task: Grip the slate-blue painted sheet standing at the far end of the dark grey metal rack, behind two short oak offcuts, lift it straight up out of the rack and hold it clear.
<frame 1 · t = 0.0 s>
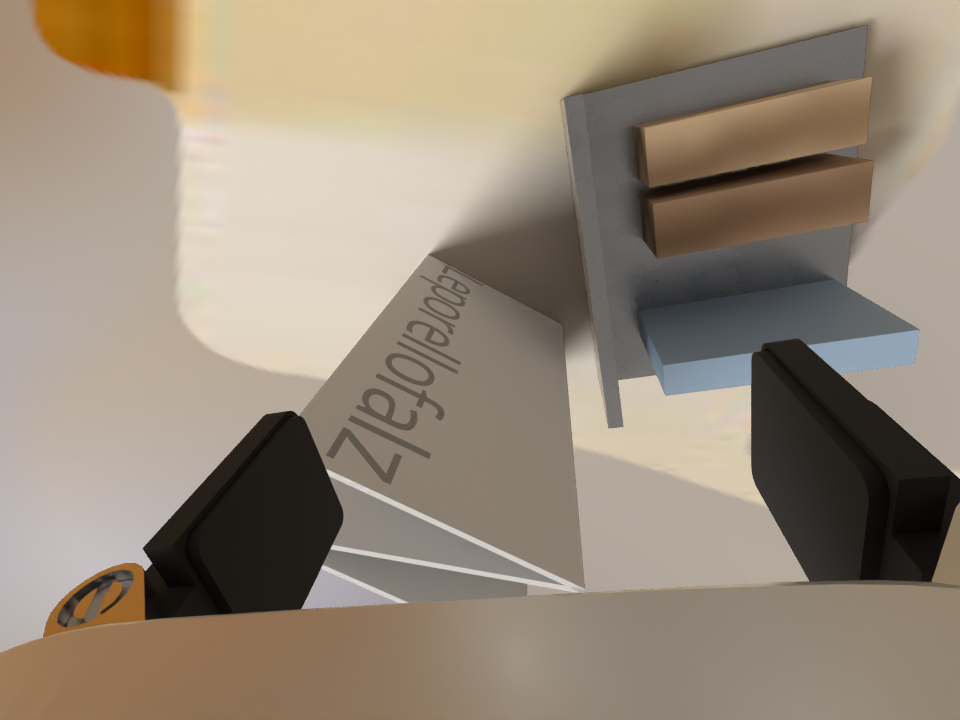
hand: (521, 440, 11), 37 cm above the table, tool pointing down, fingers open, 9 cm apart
offcut short: (729, 132, 39), point 1 cm above the table, touching rack
offcut tall: (731, 199, 41), point 1 cm above the table, touching rack
sheet: (732, 309, 45), point 1 cm above the table, touching rack
rack: (715, 229, 43), on the table
brochure: (483, 313, 49), on the table
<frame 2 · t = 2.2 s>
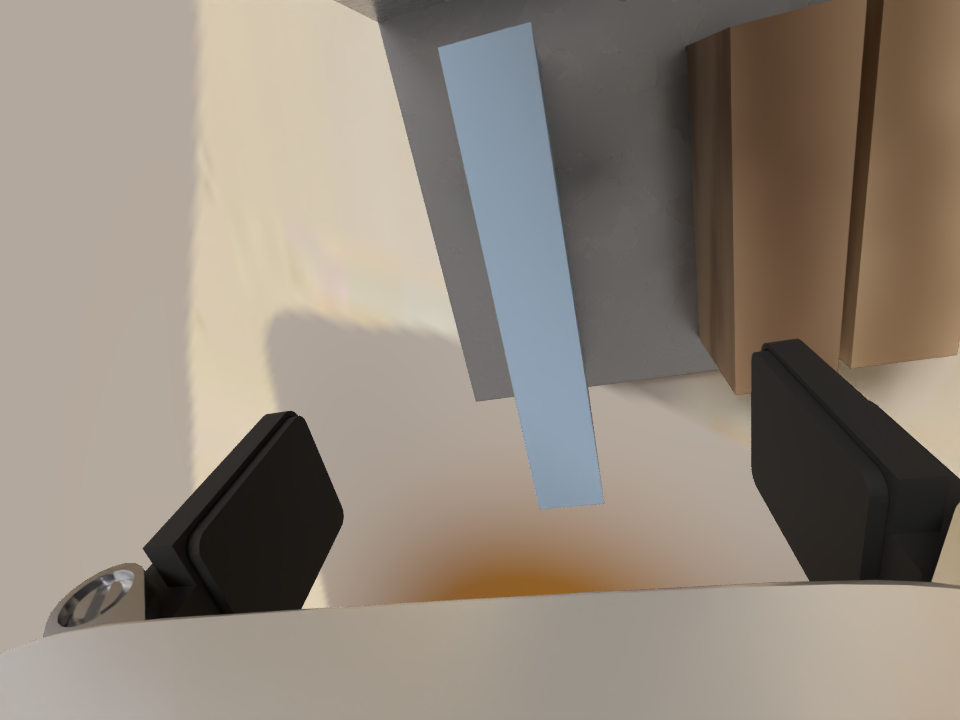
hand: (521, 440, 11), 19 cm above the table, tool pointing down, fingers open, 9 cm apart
offcut short: (854, 178, 24), point 1 cm above the table, touching rack
offcut tall: (737, 201, 25), point 1 cm above the table, touching rack
sheet: (540, 239, 26), point 1 cm above the table, touching rack
rack: (677, 187, 26), on the table
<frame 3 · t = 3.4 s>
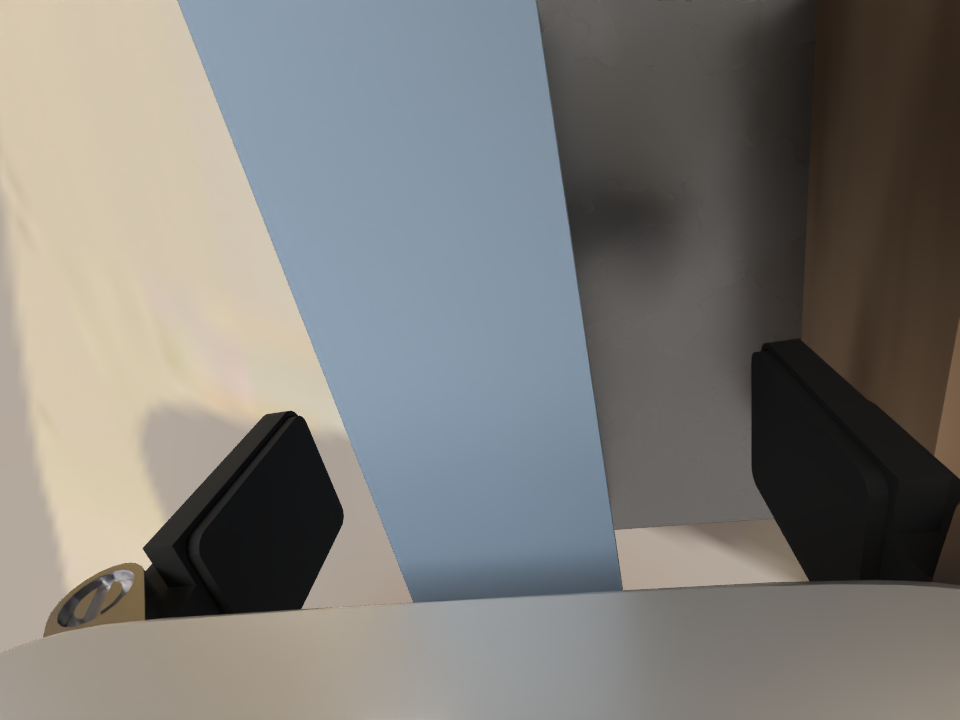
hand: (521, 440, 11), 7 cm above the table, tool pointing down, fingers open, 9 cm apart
offcut tall: (883, 264, 14), point 1 cm above the table, touching rack
sheet: (542, 318, 16), point 1 cm above the table, touching rack
rack: (772, 237, 15), on the table
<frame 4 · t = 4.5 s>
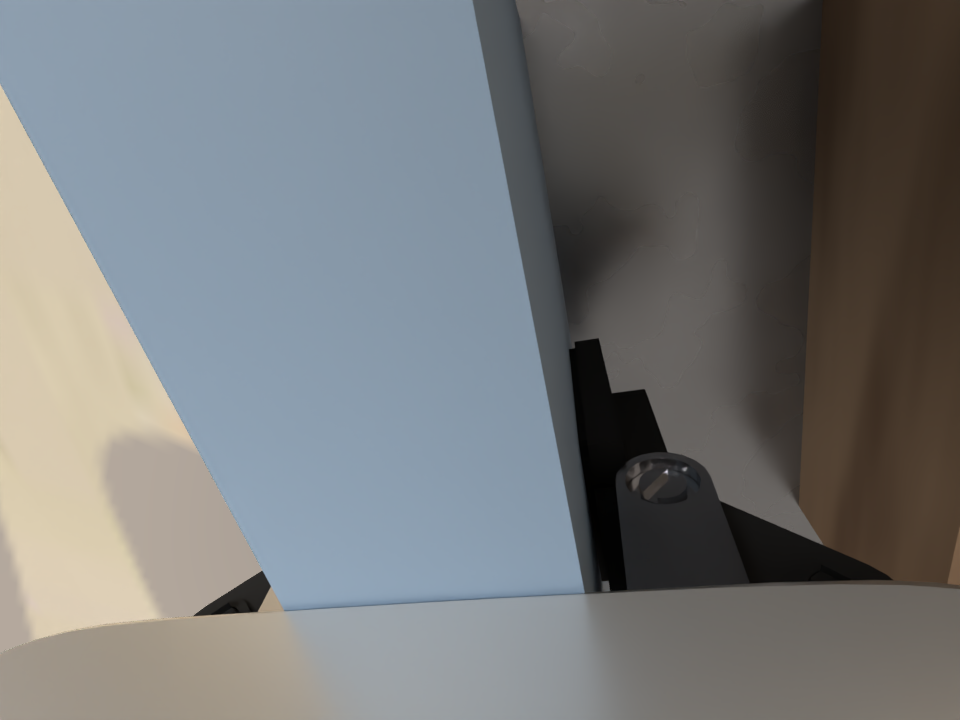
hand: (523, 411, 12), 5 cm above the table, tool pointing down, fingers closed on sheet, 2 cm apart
offcut tall: (893, 288, 13), point 1 cm above the table, touching rack
sheet: (527, 345, 15), point 1 cm above the table, touching gripper
rack: (773, 258, 14), on the table
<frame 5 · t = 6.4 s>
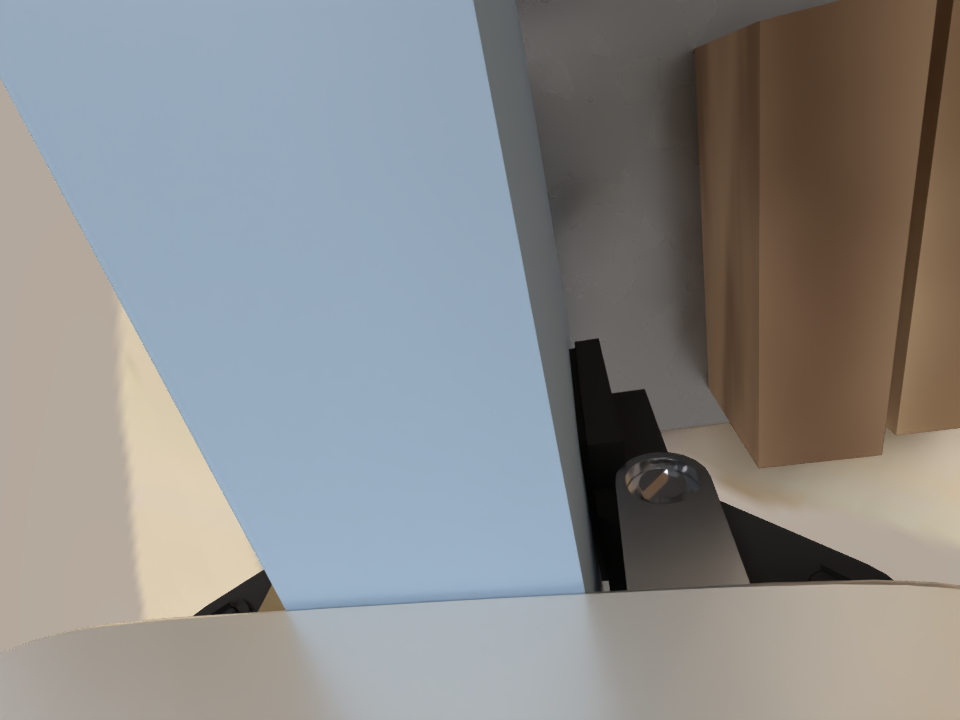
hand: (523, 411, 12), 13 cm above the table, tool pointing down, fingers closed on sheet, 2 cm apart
offcut short: (892, 205, 20), point 1 cm above the table, touching rack
offcut tall: (754, 231, 21), point 1 cm above the table, touching rack
sheet: (527, 345, 15), point 9 cm above the table, touching gripper
rack: (682, 215, 22), on the table
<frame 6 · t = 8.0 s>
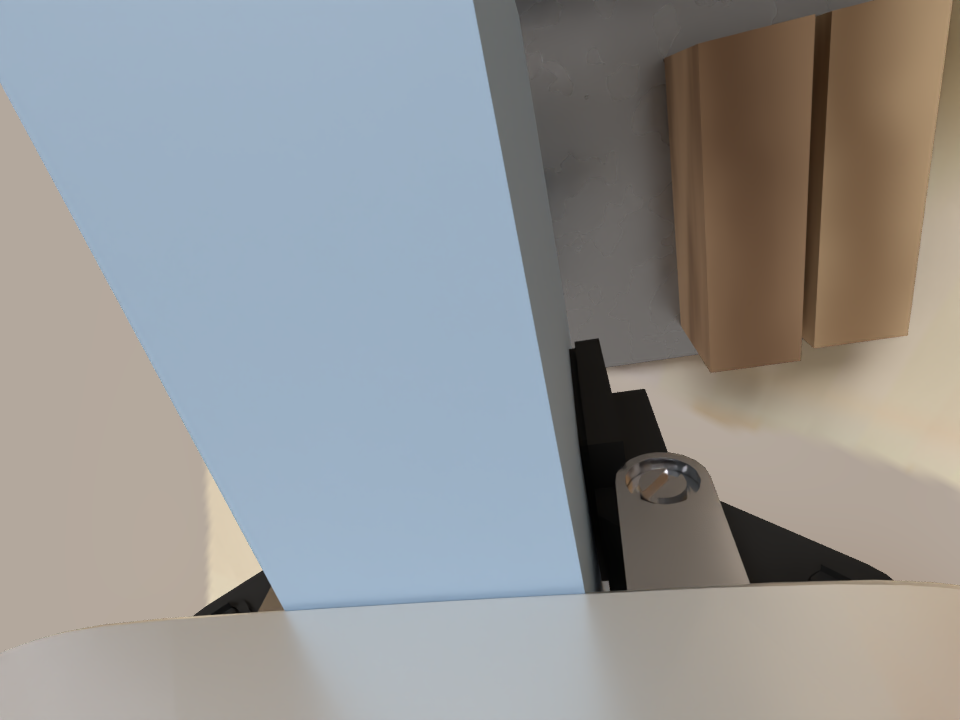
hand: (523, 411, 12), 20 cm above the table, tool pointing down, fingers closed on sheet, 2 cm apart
offcut short: (817, 177, 26), point 1 cm above the table, touching rack
offcut tall: (713, 198, 27), point 1 cm above the table, touching rack
sheet: (527, 345, 15), point 16 cm above the table, touching gripper
rack: (658, 186, 28), on the table
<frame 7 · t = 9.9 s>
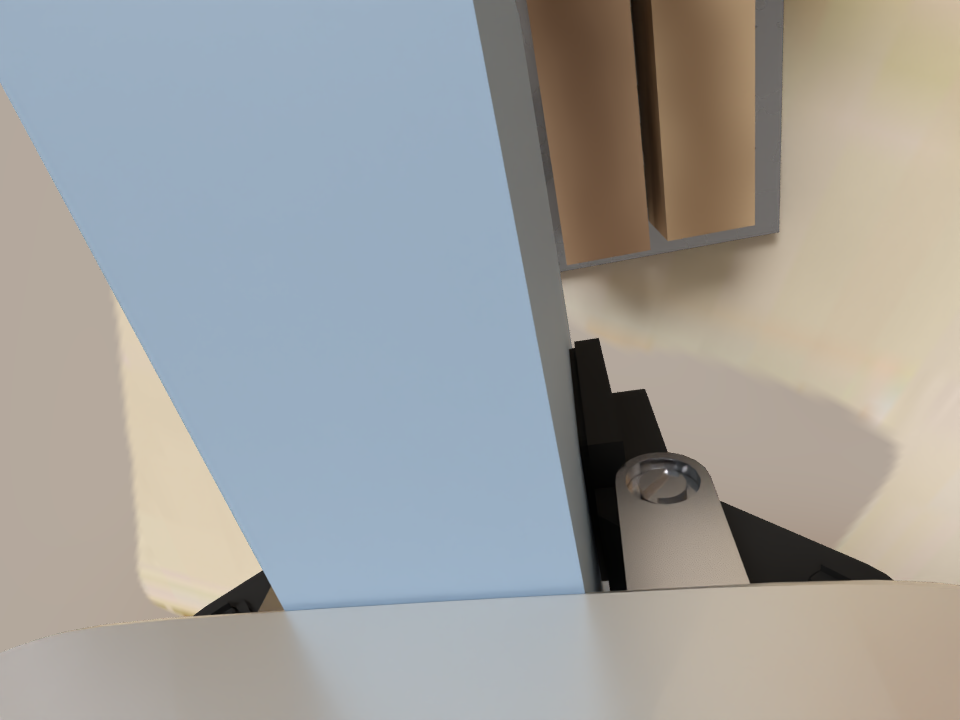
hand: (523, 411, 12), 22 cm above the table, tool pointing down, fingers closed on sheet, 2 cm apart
offcut short: (677, 78, 27), point 1 cm above the table, touching rack
offcut tall: (580, 102, 27), point 1 cm above the table, touching rack
sheet: (527, 345, 15), point 18 cm above the table, touching gripper
rack: (531, 94, 28), on the table
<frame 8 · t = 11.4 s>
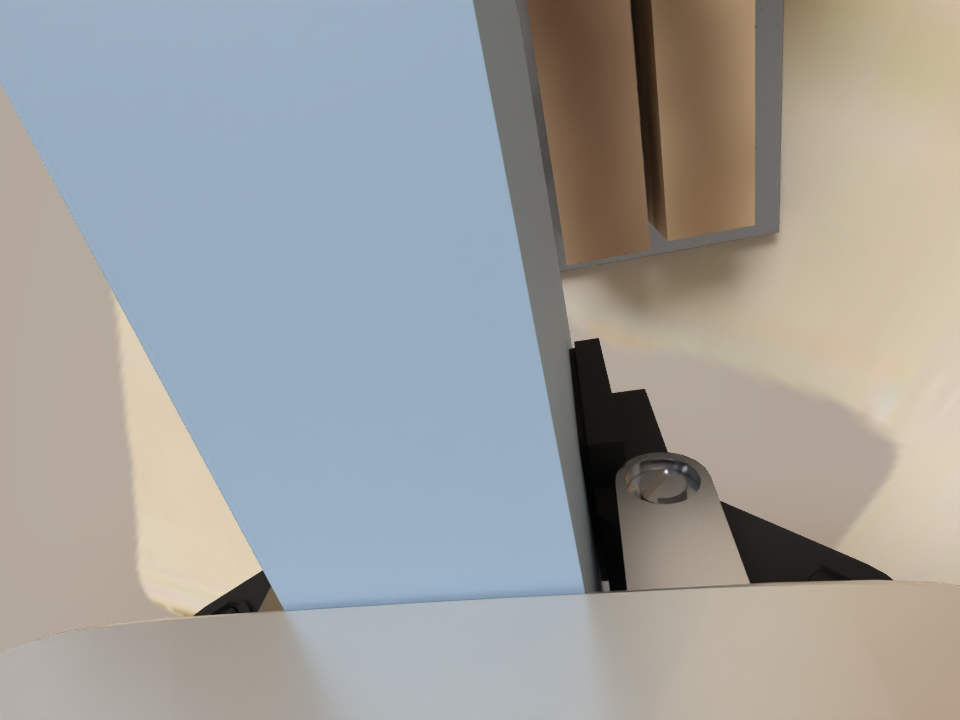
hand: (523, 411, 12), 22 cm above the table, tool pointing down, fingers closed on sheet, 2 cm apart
offcut short: (677, 78, 27), point 1 cm above the table, touching rack
offcut tall: (580, 102, 27), point 1 cm above the table, touching rack
sheet: (527, 345, 15), point 18 cm above the table, touching gripper
rack: (531, 94, 28), on the table
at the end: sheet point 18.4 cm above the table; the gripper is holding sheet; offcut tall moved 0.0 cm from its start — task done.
